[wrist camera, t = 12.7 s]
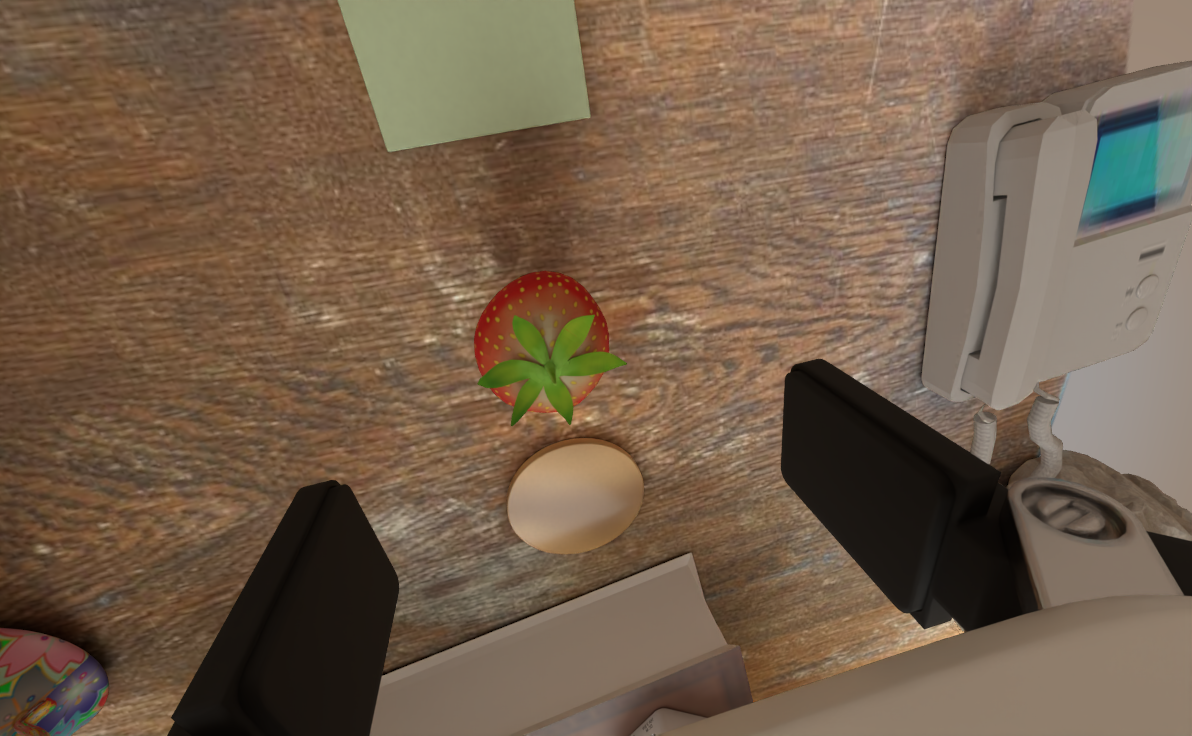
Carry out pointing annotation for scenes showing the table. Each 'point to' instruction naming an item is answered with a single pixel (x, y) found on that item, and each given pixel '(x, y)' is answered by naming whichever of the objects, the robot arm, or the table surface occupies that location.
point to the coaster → (574, 496)
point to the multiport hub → (665, 722)
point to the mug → (47, 685)
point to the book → (576, 667)
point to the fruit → (543, 344)
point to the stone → (1121, 493)
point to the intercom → (1056, 242)
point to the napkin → (467, 66)
